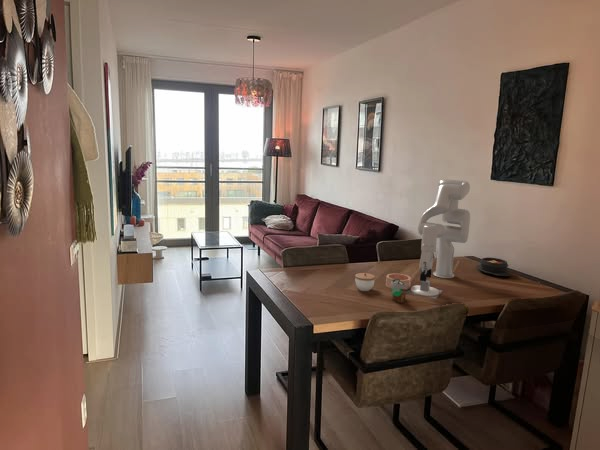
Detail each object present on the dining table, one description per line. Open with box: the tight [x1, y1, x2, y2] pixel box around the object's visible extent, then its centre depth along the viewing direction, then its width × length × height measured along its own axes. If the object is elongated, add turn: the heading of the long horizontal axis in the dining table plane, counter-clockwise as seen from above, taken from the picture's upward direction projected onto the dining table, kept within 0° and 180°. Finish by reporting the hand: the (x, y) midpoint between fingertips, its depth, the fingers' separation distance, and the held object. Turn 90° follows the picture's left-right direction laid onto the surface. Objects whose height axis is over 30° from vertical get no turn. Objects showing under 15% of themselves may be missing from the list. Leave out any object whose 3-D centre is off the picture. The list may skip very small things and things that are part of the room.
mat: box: [406, 284, 444, 300], centre depth 236 cm, size 16×16×1 cm
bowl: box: [385, 273, 412, 291], centre depth 243 cm, size 13×13×6 cm
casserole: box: [475, 257, 512, 277], centre depth 280 cm, size 25×19×8 cm
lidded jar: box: [354, 272, 376, 292], centre depth 237 cm, size 11×11×9 cm
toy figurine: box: [391, 278, 408, 304], centre depth 222 cm, size 12×6×10 cm, turn 5°
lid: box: [409, 279, 440, 297], centre depth 236 cm, size 15×15×6 cm
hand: (425, 279), depth 235 cm, fingers open, 9 cm apart
